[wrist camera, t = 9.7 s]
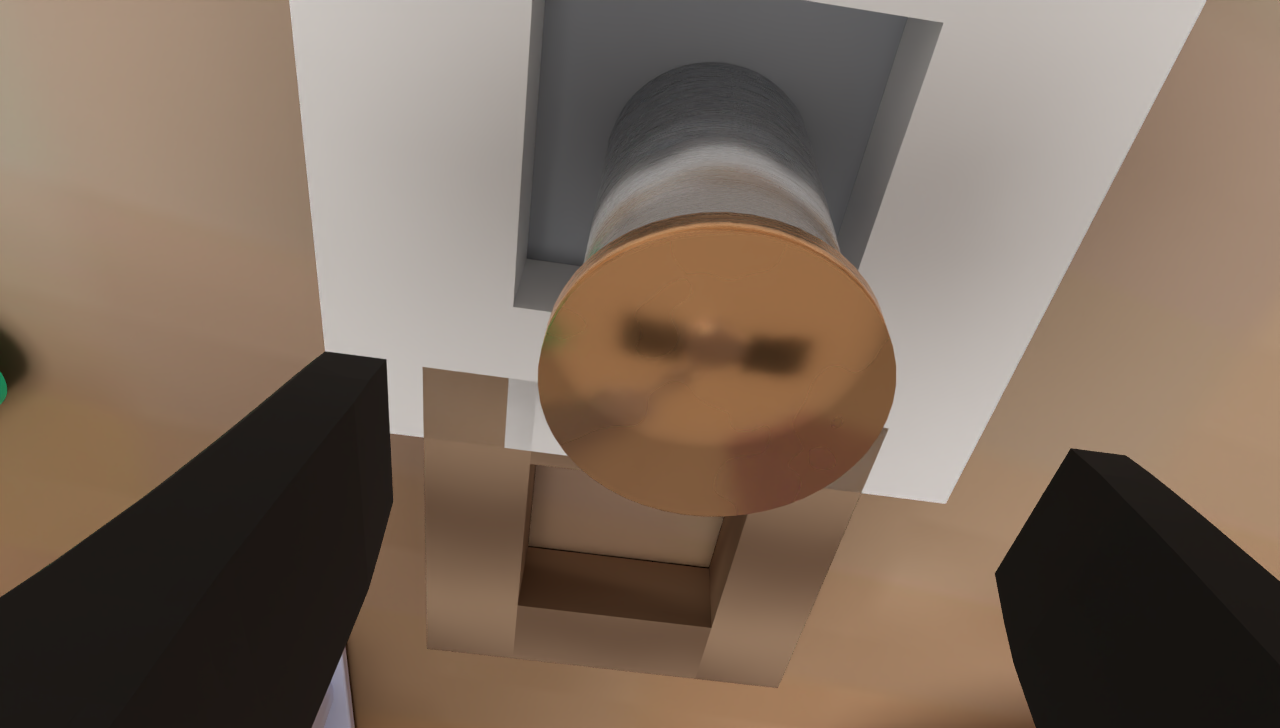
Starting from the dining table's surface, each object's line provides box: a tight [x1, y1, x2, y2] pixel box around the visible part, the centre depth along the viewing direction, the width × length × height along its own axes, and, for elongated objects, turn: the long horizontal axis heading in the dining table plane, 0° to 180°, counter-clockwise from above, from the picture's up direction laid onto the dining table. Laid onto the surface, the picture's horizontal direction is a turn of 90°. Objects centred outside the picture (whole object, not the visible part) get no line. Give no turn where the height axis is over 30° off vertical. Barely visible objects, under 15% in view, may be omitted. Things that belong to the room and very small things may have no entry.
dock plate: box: [289, 0, 1207, 504], centre depth 16 cm, size 14×14×2 cm
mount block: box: [423, 367, 889, 688], centre depth 22 cm, size 10×10×2 cm
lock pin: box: [538, 62, 896, 516], centre depth 14 cm, size 5×5×7 cm
